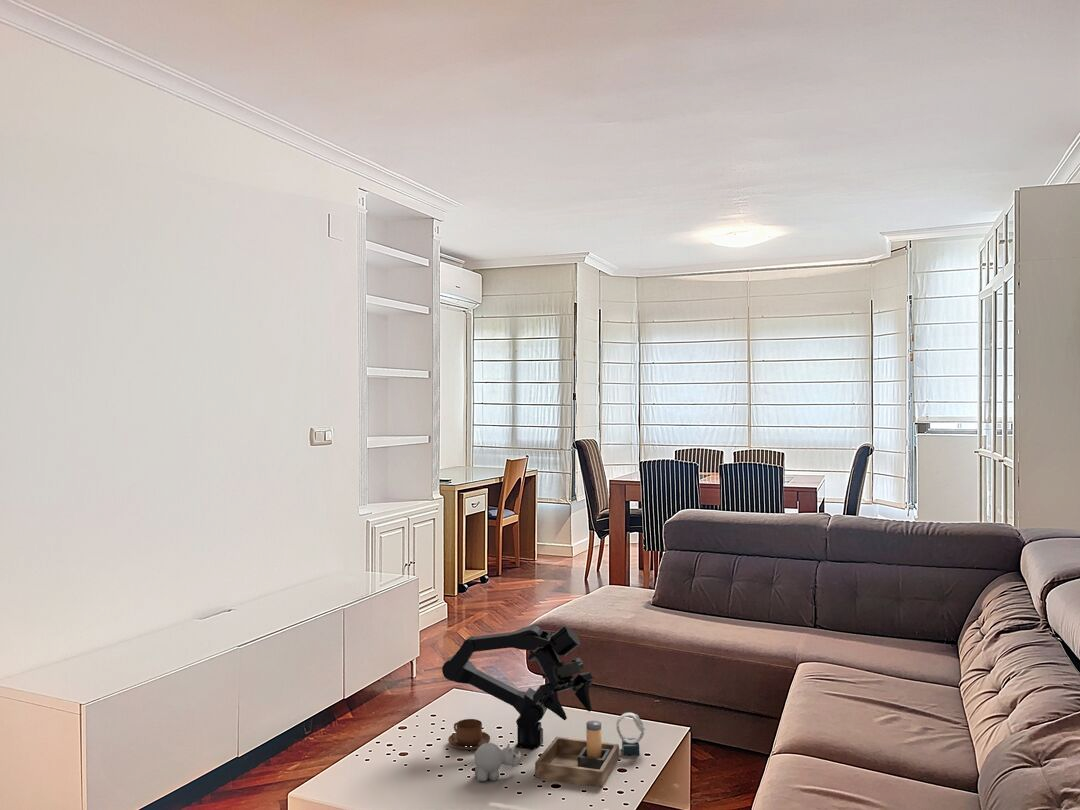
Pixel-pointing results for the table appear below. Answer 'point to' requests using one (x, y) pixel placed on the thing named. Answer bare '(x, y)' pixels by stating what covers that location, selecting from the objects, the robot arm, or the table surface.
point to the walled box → (576, 762)
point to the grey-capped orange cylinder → (594, 739)
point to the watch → (631, 744)
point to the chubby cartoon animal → (493, 760)
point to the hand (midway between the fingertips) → (578, 715)
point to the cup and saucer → (468, 735)
